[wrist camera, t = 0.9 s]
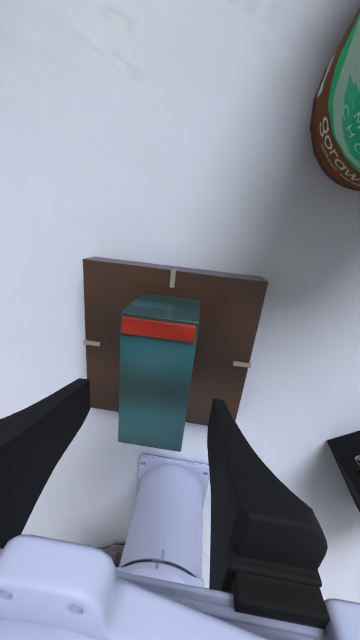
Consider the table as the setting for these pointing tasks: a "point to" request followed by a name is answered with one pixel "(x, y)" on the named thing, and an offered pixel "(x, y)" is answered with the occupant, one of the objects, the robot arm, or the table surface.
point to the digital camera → (348, 461)
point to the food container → (340, 113)
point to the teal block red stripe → (156, 369)
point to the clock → (213, 333)
